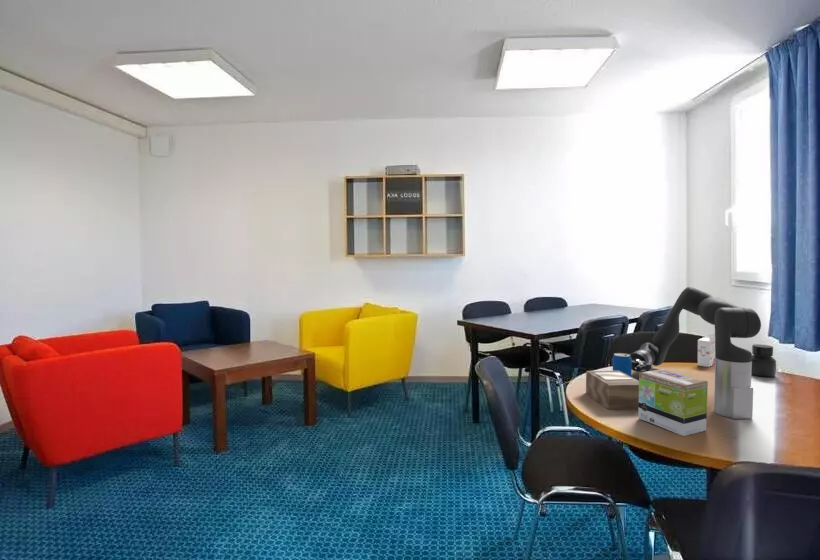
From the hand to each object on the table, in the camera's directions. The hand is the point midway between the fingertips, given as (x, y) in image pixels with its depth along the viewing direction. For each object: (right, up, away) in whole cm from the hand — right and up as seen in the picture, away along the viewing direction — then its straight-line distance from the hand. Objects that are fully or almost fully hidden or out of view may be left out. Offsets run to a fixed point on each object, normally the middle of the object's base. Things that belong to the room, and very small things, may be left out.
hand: (625, 367), depth 176 cm
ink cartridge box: (+50, -5, +29) cm, 58 cm away
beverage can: (-3, -7, -2) cm, 8 cm away
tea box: (-7, -9, -42) cm, 44 cm away
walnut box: (-13, -8, -20) cm, 25 cm away
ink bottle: (+61, -5, +11) cm, 62 cm away
